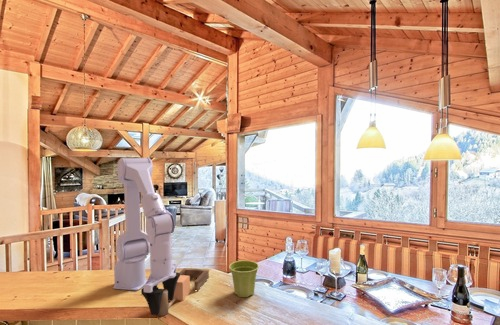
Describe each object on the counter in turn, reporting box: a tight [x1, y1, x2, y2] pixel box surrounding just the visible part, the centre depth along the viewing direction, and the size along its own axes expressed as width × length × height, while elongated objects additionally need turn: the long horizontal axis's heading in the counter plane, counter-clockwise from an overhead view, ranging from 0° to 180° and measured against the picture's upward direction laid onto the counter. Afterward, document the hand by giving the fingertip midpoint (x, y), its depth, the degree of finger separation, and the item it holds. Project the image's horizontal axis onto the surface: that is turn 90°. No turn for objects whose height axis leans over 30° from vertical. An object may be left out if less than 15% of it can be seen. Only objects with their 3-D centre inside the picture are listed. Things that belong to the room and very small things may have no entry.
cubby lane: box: [179, 267, 210, 291], centre depth 96 cm, size 9×10×3 cm
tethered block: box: [157, 275, 191, 317], centre depth 83 cm, size 5×14×6 cm, turn 168°
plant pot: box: [229, 259, 260, 298], centre depth 88 cm, size 9×9×9 cm
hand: (162, 306), depth 77 cm, fingers open, 7 cm apart
